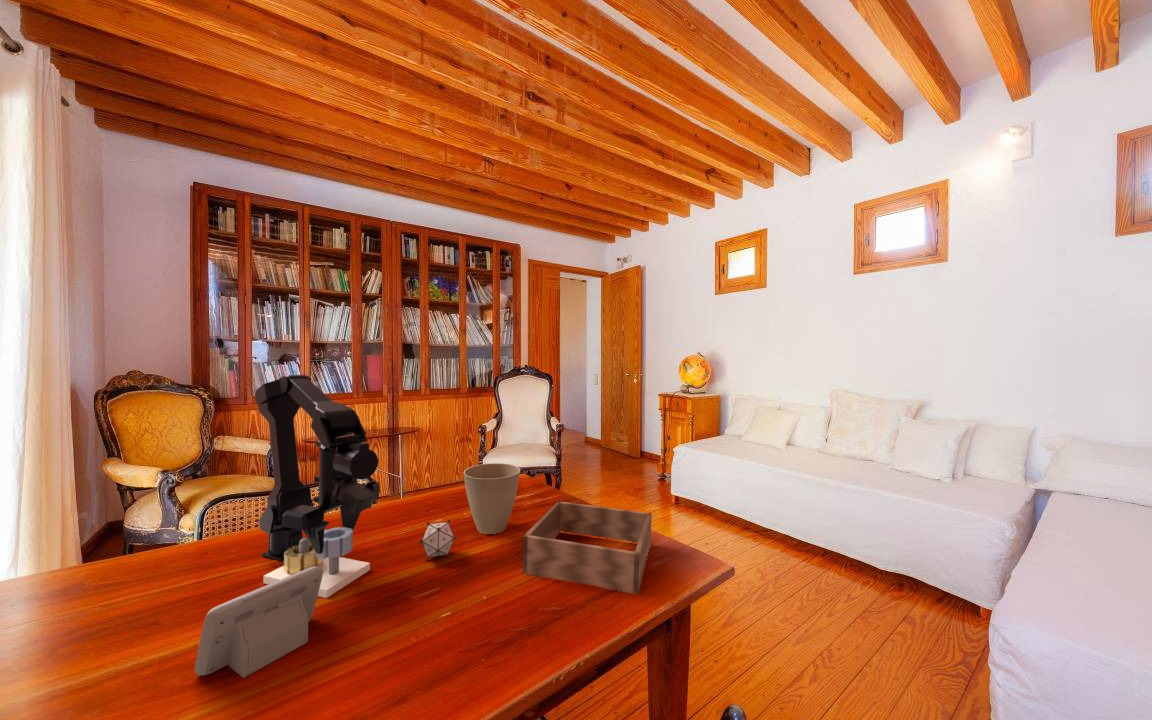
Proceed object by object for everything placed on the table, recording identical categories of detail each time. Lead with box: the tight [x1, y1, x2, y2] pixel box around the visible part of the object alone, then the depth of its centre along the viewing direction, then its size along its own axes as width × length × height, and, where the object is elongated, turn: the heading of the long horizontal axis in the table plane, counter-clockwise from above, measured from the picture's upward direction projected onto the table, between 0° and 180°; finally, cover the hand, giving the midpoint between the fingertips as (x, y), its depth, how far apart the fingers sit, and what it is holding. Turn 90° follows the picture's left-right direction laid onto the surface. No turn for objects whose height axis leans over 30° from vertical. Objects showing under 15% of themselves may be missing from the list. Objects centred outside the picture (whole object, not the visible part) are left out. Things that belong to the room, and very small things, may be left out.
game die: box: [418, 518, 458, 561], centre depth 97 cm, size 9×8×10 cm
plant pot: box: [463, 462, 521, 535], centre depth 112 cm, size 15×15×16 cm
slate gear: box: [315, 526, 354, 559], centre depth 86 cm, size 7×7×4 cm
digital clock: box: [194, 566, 323, 679], centre depth 65 cm, size 16×9×11 cm, turn 139°
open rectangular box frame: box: [522, 500, 653, 595], centre depth 98 cm, size 25×23×10 cm
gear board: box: [262, 537, 371, 599], centre depth 87 cm, size 16×11×7 cm
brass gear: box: [283, 541, 323, 574], centre depth 88 cm, size 7×7×4 cm
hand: (334, 545), depth 86 cm, fingers closed on slate gear, 7 cm apart
